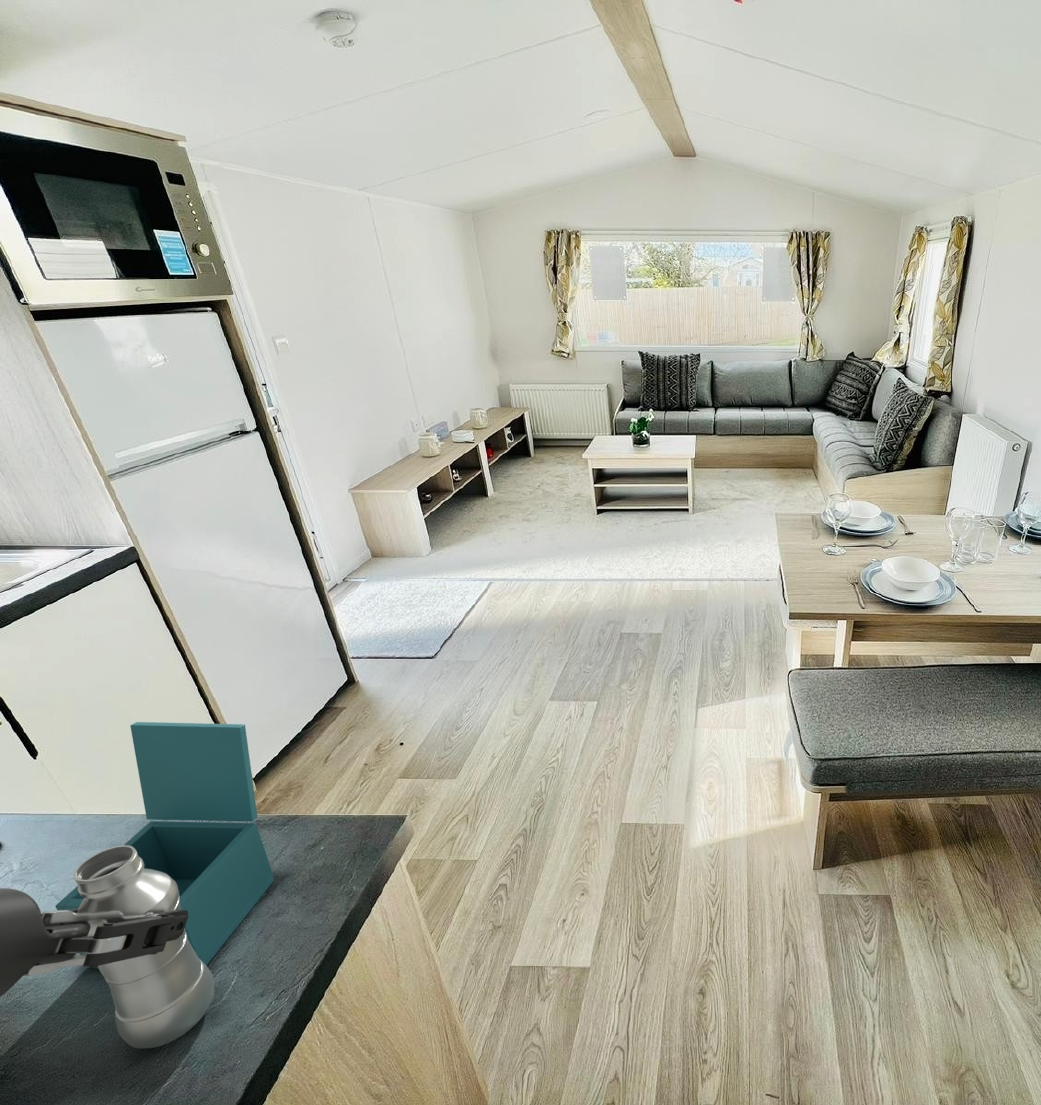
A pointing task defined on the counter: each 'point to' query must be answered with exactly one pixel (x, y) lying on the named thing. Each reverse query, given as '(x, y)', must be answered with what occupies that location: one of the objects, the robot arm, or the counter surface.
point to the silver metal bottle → (152, 980)
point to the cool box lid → (194, 771)
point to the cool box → (204, 875)
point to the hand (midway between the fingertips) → (130, 923)
